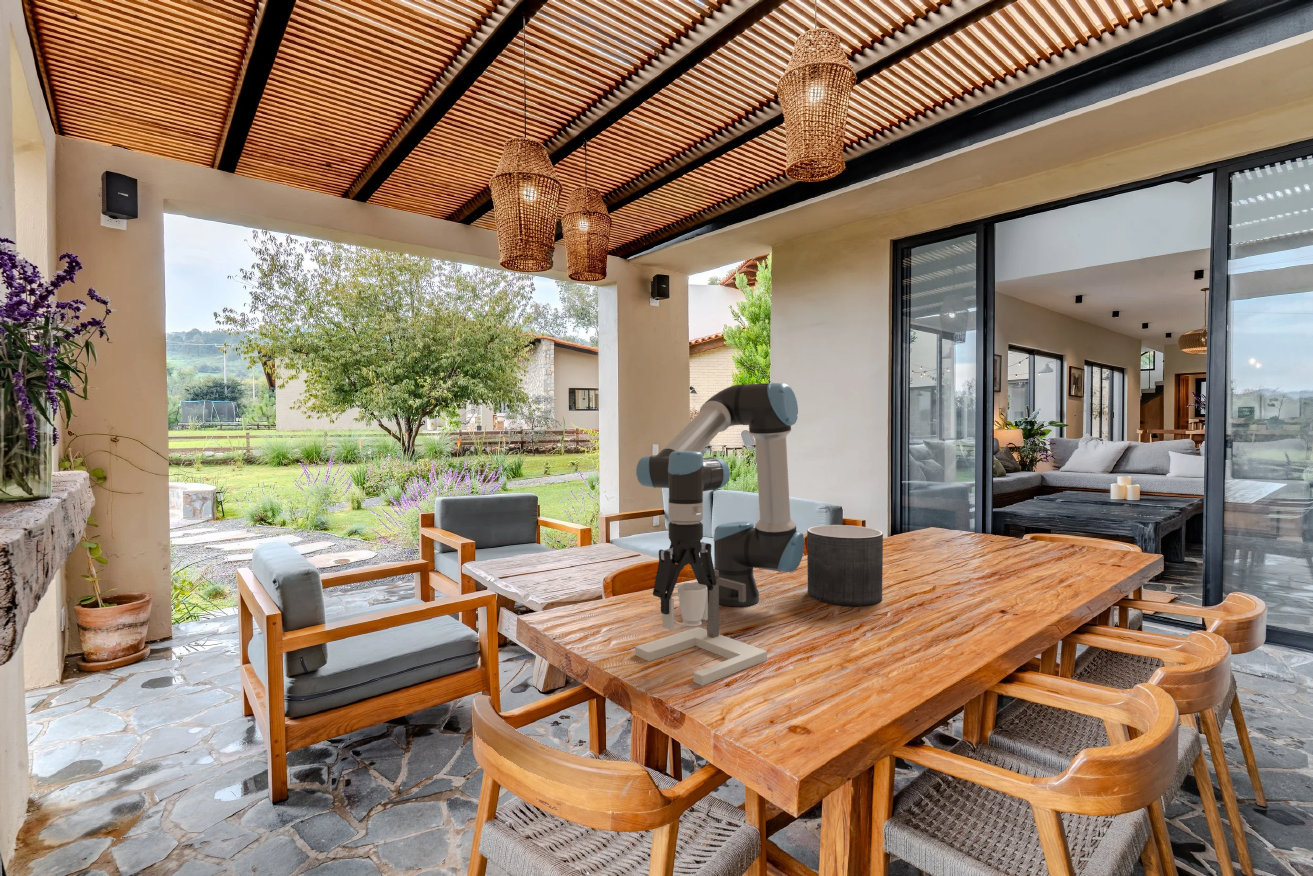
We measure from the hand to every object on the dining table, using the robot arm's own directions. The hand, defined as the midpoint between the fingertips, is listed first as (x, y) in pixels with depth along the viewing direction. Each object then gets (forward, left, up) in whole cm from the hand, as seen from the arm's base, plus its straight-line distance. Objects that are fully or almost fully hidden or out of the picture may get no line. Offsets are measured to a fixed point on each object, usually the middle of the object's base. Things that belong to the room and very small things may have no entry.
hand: (685, 623), depth 135 cm
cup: (0, 0, 0) cm, 0 cm away
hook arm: (-1, +14, -8) cm, 16 cm away
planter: (-8, +74, -10) cm, 75 cm away
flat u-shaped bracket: (-2, +6, -10) cm, 11 cm away
